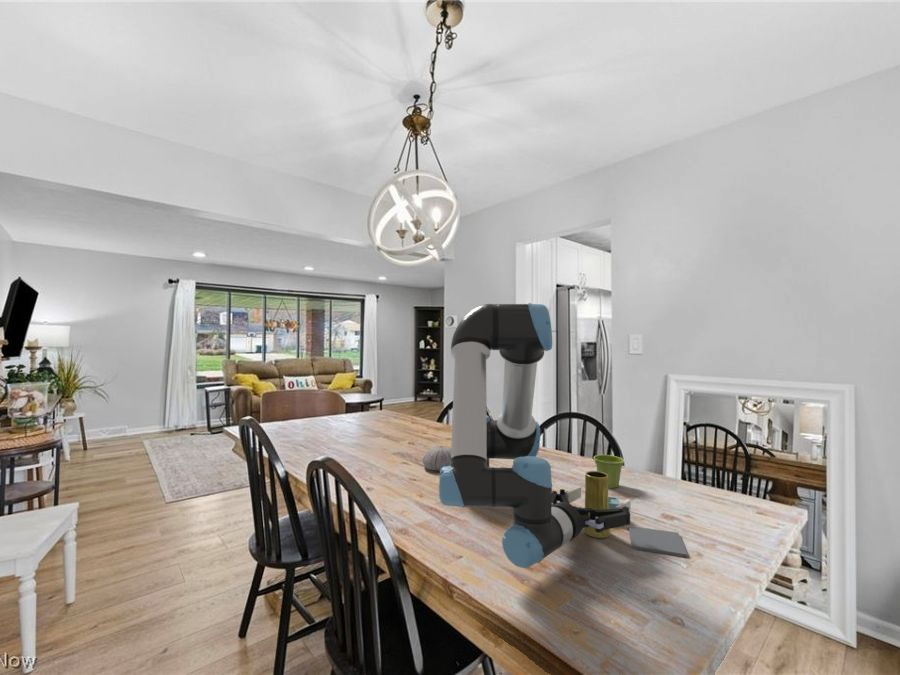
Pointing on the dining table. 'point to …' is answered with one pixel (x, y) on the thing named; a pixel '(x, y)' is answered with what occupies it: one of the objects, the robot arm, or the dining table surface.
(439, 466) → the sea urchin shell
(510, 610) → the dining table surface
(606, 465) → the plant pot
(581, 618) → the dining table surface
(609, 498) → the letter cube
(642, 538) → the slate mat
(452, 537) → the dining table surface
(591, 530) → the vase
